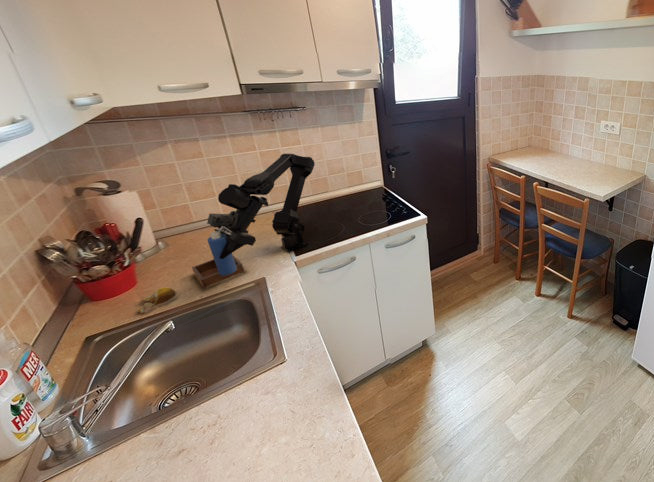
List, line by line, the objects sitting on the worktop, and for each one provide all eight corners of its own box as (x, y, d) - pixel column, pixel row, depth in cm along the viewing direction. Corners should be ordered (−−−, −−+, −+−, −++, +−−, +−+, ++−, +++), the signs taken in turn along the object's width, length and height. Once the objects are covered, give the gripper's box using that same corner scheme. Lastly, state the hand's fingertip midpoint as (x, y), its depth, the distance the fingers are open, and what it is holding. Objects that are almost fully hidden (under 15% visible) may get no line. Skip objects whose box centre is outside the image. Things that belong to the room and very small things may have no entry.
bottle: (234, 265, 113) (221, 227, 107) (239, 270, 110) (226, 232, 105) (217, 272, 109) (203, 233, 104) (222, 277, 106) (208, 238, 101)
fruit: (142, 300, 104) (137, 290, 102) (176, 289, 109) (173, 280, 107) (139, 315, 98) (134, 305, 96) (175, 302, 103) (171, 293, 101)
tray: (233, 261, 124) (230, 252, 122) (244, 272, 117) (241, 263, 116) (195, 276, 115) (191, 267, 114) (204, 289, 108) (201, 280, 107)
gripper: (209, 196, 109) (179, 240, 104) (234, 210, 99) (201, 258, 95) (242, 209, 118) (215, 250, 113) (268, 223, 108) (239, 267, 104)
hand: (217, 256), depth 106 cm, fingers closed on bottle, 5 cm apart
